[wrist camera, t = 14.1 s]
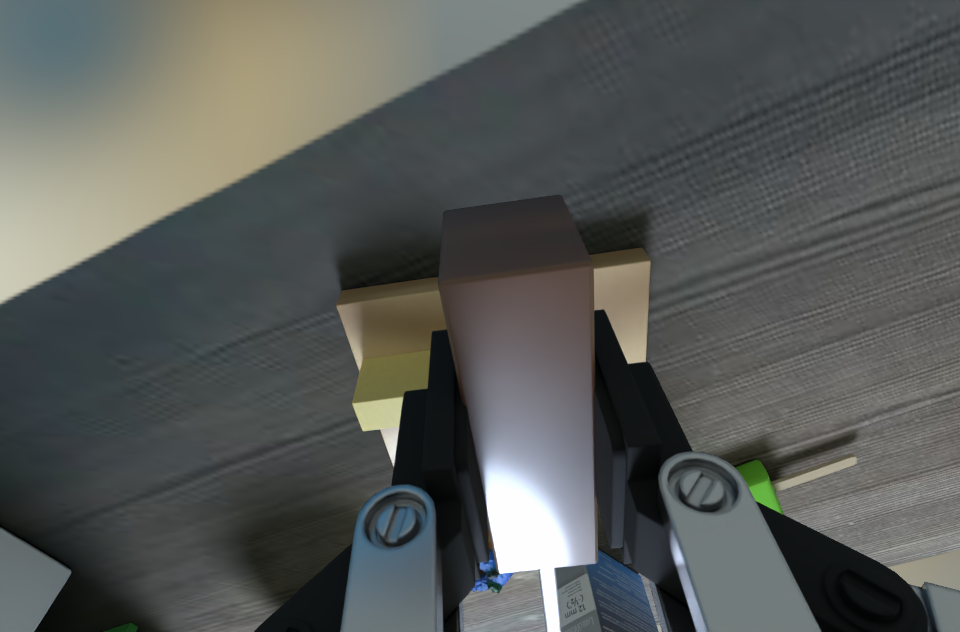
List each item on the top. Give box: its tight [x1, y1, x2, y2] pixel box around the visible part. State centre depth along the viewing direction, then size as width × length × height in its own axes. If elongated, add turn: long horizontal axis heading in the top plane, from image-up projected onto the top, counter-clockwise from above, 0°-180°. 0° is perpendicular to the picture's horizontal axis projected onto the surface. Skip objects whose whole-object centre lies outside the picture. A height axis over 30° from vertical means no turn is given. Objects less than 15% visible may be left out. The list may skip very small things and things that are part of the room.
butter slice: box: [352, 350, 430, 431], centre depth 27 cm, size 2×5×4 cm, turn 98°
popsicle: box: [734, 454, 857, 514], centre depth 37 cm, size 6×15×2 cm, turn 120°
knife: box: [438, 195, 598, 632], centre depth 14 cm, size 17×2×3 cm, turn 8°
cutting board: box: [336, 248, 651, 467], centre depth 32 cm, size 18×16×2 cm
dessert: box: [471, 531, 514, 593], centre depth 40 cm, size 8×7×6 cm
